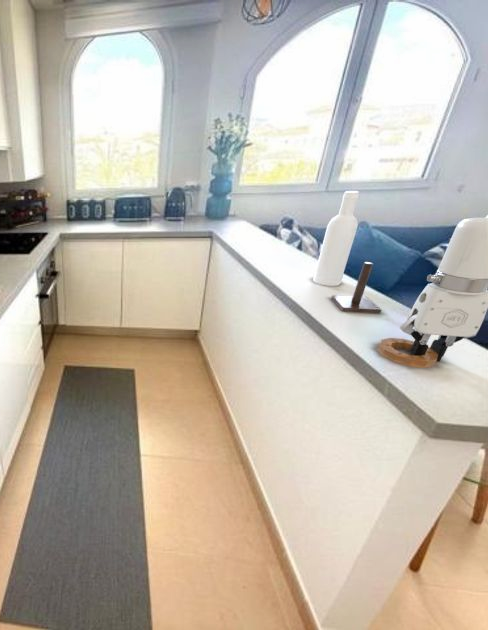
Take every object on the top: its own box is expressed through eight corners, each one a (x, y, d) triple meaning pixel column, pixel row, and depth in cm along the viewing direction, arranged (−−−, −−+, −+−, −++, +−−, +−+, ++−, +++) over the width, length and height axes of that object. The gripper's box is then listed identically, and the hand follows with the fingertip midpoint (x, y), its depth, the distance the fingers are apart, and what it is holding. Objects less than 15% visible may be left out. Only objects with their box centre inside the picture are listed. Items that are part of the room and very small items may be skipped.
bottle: (346, 286, 115) (375, 192, 102) (322, 287, 115) (348, 193, 102) (330, 277, 122) (355, 189, 109) (307, 279, 122) (330, 190, 109)
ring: (418, 347, 81) (421, 340, 80) (444, 370, 73) (448, 362, 72) (369, 343, 84) (372, 336, 83) (389, 365, 76) (392, 358, 75)
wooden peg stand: (365, 301, 104) (380, 258, 98) (379, 314, 96) (397, 268, 90) (330, 299, 107) (343, 257, 101) (342, 312, 99) (356, 267, 93)
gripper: (421, 286, 68) (389, 363, 76) (529, 290, 64) (482, 371, 72) (401, 273, 75) (373, 345, 83) (497, 276, 70) (458, 352, 78)
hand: (424, 357), depth 77 cm, fingers closed on ring, 2 cm apart
